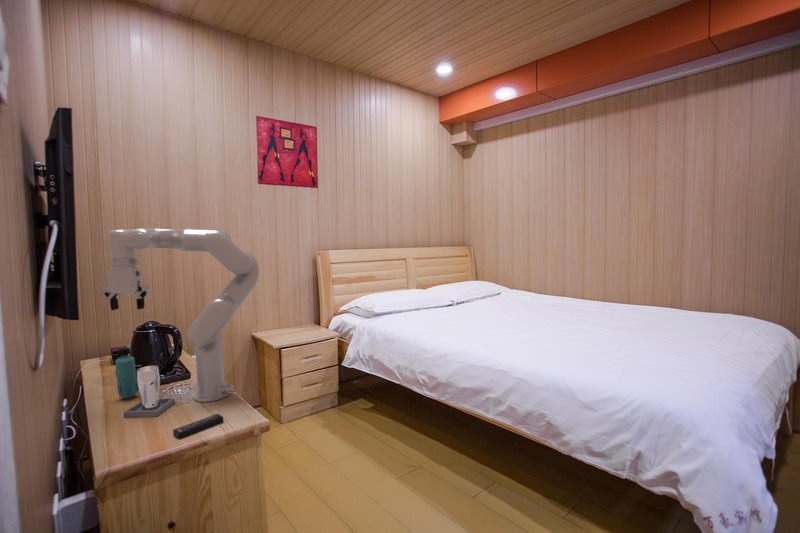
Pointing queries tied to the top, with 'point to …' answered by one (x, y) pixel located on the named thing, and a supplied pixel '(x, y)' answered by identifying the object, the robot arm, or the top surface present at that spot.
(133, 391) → the beverage bottle
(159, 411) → the tray
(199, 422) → the multiport hub
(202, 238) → the robot arm
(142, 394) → the beer glass
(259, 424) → the top surface
